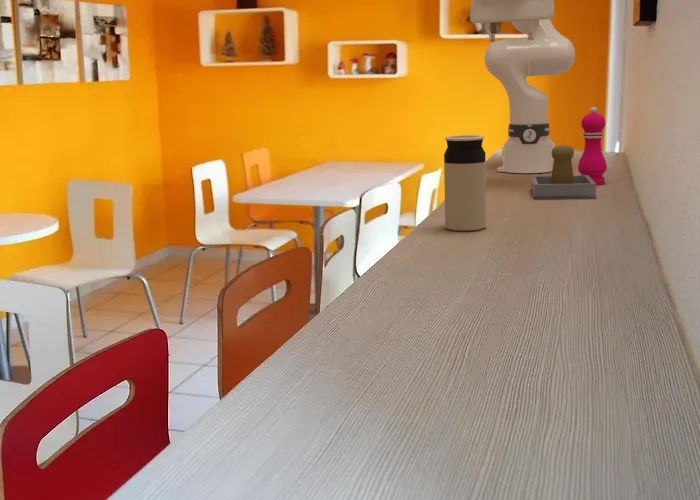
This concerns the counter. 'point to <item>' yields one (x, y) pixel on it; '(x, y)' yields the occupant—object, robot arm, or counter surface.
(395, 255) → the counter surface
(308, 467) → the counter surface
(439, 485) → the counter surface
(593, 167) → the pepper mill
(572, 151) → the brown pawn
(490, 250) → the counter surface
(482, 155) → the travel mug
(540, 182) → the tray
